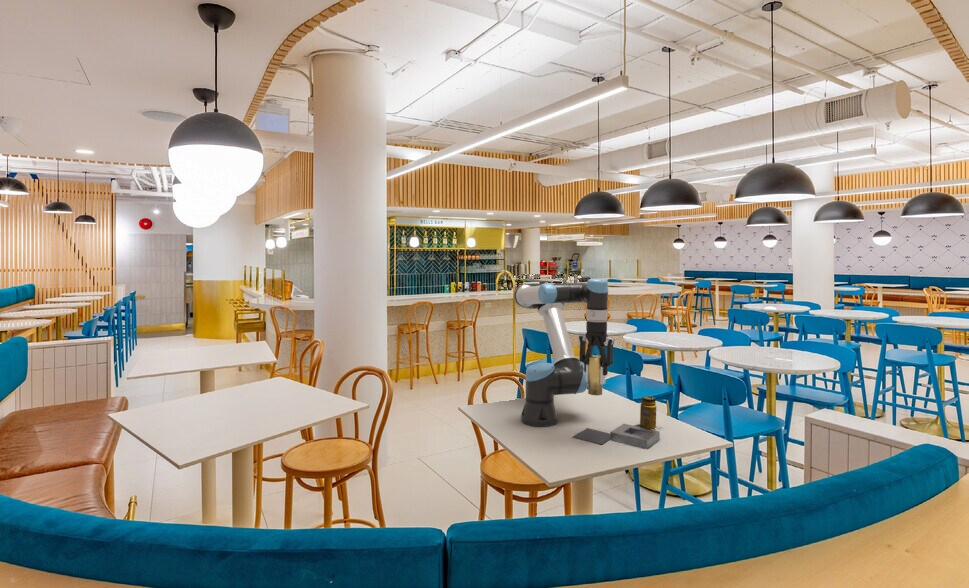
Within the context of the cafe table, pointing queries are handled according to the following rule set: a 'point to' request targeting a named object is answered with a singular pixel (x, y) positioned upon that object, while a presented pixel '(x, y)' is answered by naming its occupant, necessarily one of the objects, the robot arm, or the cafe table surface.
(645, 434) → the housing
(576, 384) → the robot arm
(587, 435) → the mat
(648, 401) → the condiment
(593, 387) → the gold rounded cylinder
